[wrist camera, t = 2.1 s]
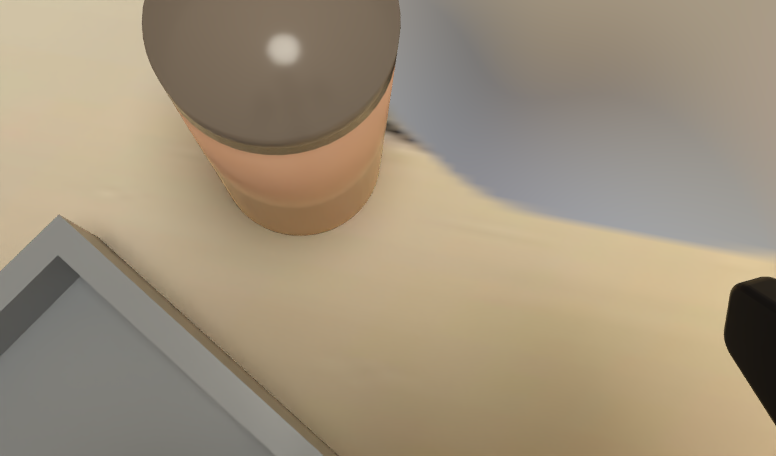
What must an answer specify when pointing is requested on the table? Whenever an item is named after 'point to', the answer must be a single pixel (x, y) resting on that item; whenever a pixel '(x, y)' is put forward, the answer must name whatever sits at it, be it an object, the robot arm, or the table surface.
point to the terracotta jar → (282, 98)
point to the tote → (120, 366)
